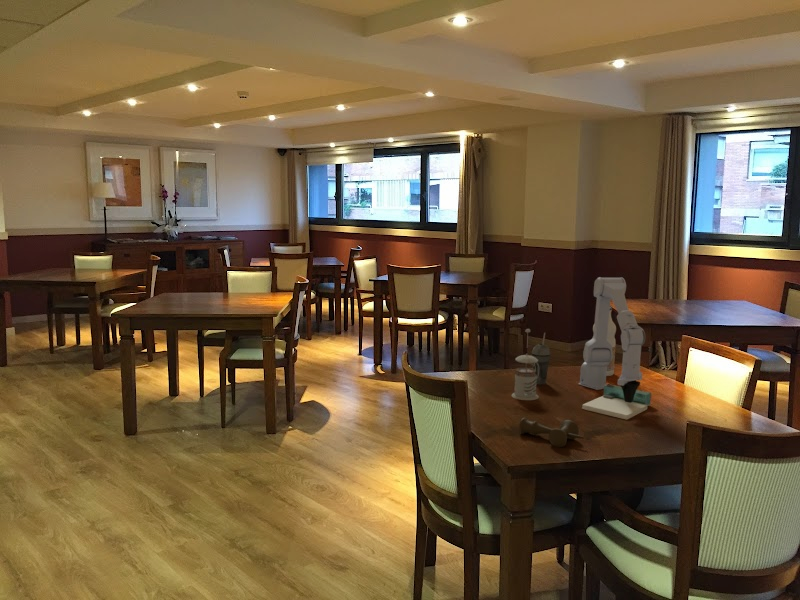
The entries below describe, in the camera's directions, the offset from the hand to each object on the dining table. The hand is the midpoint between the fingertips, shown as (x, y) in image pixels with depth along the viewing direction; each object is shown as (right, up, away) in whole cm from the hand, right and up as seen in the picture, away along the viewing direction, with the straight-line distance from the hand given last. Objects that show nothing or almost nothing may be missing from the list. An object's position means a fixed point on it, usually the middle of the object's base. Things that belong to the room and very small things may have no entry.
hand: (628, 401), depth 229 cm
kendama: (-34, -7, -31) cm, 46 cm away
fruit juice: (+5, +4, +47) cm, 48 cm away
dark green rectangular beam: (+2, -1, +8) cm, 8 cm away
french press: (-32, 0, +14) cm, 35 cm away
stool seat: (-5, -2, 0) cm, 5 cm away
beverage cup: (-24, +2, +31) cm, 40 cm away
